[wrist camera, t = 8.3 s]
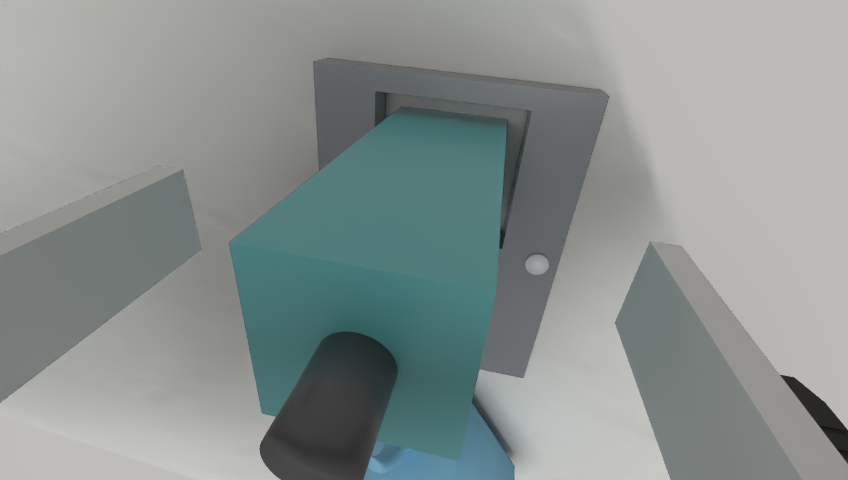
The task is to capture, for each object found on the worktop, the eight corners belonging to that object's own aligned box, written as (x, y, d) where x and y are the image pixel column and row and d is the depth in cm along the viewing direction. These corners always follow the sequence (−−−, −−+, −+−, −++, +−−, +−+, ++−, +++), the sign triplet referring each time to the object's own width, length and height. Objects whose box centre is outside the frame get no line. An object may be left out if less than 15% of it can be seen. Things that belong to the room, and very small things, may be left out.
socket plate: (337, 319, 24) (326, 339, 22) (328, 58, 17) (310, 62, 15) (522, 357, 22) (523, 381, 21) (601, 89, 15) (610, 97, 14)
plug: (396, 201, 19) (202, 506, 7) (401, 106, 17) (130, 320, 5) (489, 216, 19) (444, 574, 7) (507, 119, 16) (489, 398, 4)
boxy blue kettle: (359, 364, 25) (306, 481, 19) (441, 340, 23) (413, 465, 17) (446, 476, 30) (427, 603, 23) (523, 465, 27) (526, 604, 21)
